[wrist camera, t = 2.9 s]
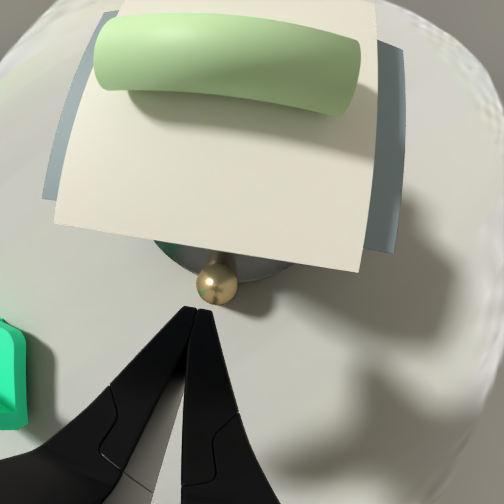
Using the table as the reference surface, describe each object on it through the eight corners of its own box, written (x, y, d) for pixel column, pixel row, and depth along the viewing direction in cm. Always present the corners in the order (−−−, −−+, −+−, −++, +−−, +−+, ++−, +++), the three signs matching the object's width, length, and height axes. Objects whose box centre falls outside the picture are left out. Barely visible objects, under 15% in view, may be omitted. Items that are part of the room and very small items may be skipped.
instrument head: (315, 249, 17) (480, 299, 4) (139, 221, 16) (-45, 212, 4) (335, 92, 16) (440, -48, 3) (174, 68, 16) (109, -88, 3)
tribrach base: (319, 318, 18) (340, 322, 14) (117, 285, 18) (91, 280, 14) (334, 135, 20) (352, 107, 17) (164, 108, 20) (154, 77, 16)
